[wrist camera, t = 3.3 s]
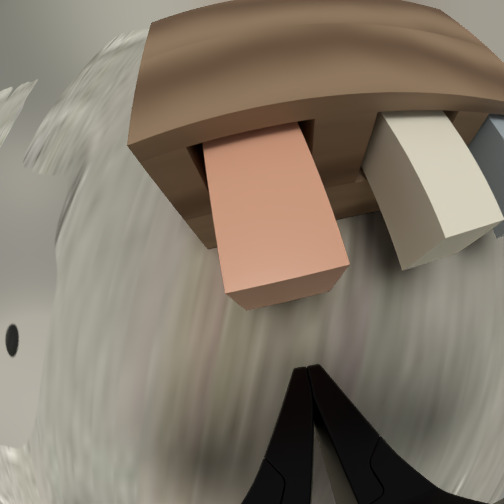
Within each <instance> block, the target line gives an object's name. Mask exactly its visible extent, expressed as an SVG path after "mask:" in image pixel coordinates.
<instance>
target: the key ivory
mask: <svg viewBox="0 0 504 504" xmlns="http://www.w3.org/2000/svg"><path fill="white" fill-rule="evenodd" d="M361 167H362V169H363V171H364V173H365V175H366V178H367V180H368V182H369V184H370V186H371V189H372V191H373V193H374V196H375V198H376V200H377V203H378V205H379V208H380V210H381V213H382V215H383V218H384V220H385V223H386V226H387V228H388V231H389V234H390V236H391V239H392V242H393V245H394V248H395V250H396V253H397V256H398V259H399V262H400V266H401V269H402V271H404V270H407V269H410V268H413V267H417V266H420V265H423V264H426V263H429V262H432V261H435V260H438V259H441V258H444V257H447V256H450V255H453V254H456V253H458V252H460V251H461V250H463V249H464V248H466V247H467V246H469V245H470V244H472V243H473V242H474V241H476V240H477V239H479V238H480V237H482V236H483V235H484V234H486V233H487V232H488V231H490V230H491V229H493V228H494V227H495V226H497V225H498V224H499V223H500V222H502V221H503V220H504V217H503V215H502V213H501V210H500V208H499V206H498V204H497V201H496V199H495V197H494V195H493V193H492V191H491V189H490V187H489V185H488V183H487V181H486V179H485V177H484V175H483V173H482V171H481V170H480V168H479V166H478V164H477V162H476V161H475V159H474V157H473V156H472V154H471V152H470V151H469V149H468V147H467V146H466V144H465V143H464V141H463V139H462V138H461V136H460V135H459V133H458V132H457V130H456V129H455V127H454V126H453V125H452V123H451V122H450V120H449V119H448V118H447V116H446V115H445V113H444V112H443V111H442V110H410V111H385V112H378V113H377V116H376V120H375V123H374V126H373V130H372V133H371V136H370V139H369V142H368V145H367V149H366V152H365V155H364V158H363V161H362V164H361Z"/></svg>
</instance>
